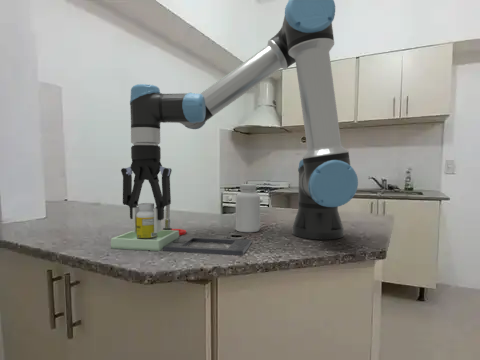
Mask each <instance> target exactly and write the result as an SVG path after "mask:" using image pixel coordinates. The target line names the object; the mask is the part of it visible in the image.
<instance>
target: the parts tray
mask: <svg viewBox="0 0 480 360" xmlns="http://www.w3.org/2000/svg"><path fill="white" fill-rule="evenodd" d="M157 236H158V238H157V240H144V239H137V232H133V230H130V231H127V232H125V233H123V234H120V235H116V236H114V237H111V238H110V249H112V250H114V249H117V250H134V251H148V250H150V251H151V252H153V251H154V252H159V251H161V250H163V247H164V246H166V245H167V244H169V243H171V242H173V241H174V240H176V239H178V238H180V235H179V231H177V230H163V229H161V231H160V232H158V233H157Z"/></svg>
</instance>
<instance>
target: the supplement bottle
mask: <svg viewBox="0 0 480 360" xmlns="http://www.w3.org/2000/svg"><path fill="white" fill-rule="evenodd" d="M138 204H139V205H138V207H139V210H140V212H138V213H137V214H136V226H137V239H144V240H157V238H158V236H157V233H154V208H155V203H154V202H144V203H142V202H141V203H138Z"/></svg>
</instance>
